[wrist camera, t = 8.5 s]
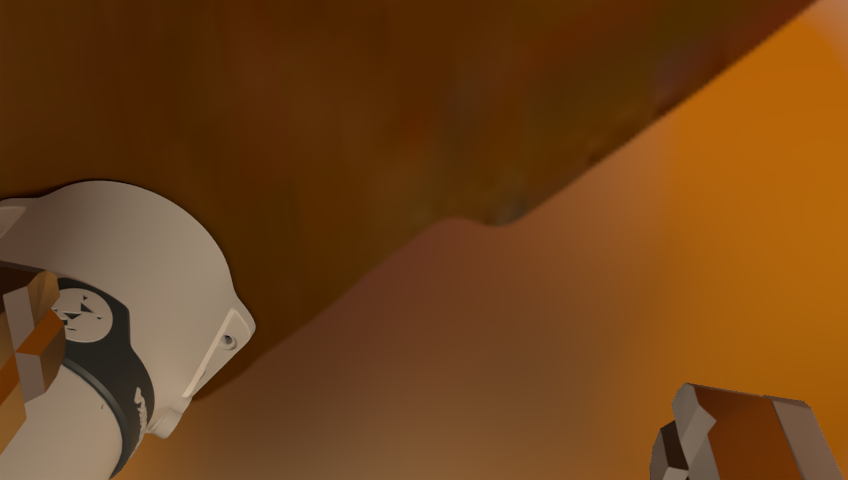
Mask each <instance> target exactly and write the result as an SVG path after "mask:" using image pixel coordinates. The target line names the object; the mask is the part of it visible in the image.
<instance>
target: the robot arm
mask: <svg viewBox="0 0 848 480" xmlns="http://www.w3.org/2000/svg"><path fill="white" fill-rule="evenodd" d="M254 331H255V322H254V320H253V318H252V316H251V315H250V313H249V312H248V310H247V309H246V308H245V306H244V305H243V304H242V302H241V301H240V300H239V299H238V297H237V296H236V293H235V291H234V288H233V284H232V280H231V276H230V272H229V269H228V266H227V263H226V261H225V258H224V256H223V254H222V252H221V251H220V249H219V247H218V245H217V244H216V242H215V241H214V240H213V238H212V237H211V236H210V234H209V233H208V232H207V231H206V230H205V229H204V228H203V226H202V225H201V224H200V223H199V222H198V221H196V220H195V219H194V218H193V217H192V216H191V215H190V214H188V213H187V212H186V211H184V210H183V209H182V208H180V207H179V206H177V205H176V204H174V203H172V202H171V201H169V200H167V199H165V198H164V197H162V196H160V195H158V194H155V193H153V192H151V191H148V190H146V189H143V188H140V187H136V186H133V185H129V184H124V183H119V182H111V181H88V182H81V183H76V184H72V185H69V186H66V187H63V188H61V189H59V190H57V191H55V192H52V193H50V194H48V195H46V196H43V197H40V198H11V199H5V200H2V201H0V480H109V479H111V478H113V477H114V476H115V475H116V474H117V473H118V472H119V471H121V469H122V468H123V466H124V465H125V464H126V462H127V461H128V459H129V458H131V456H132V455H133V453H134V452H135V451H136V449H137V447H138V446H139V444H140V442H141V441H142V438H143V436H144V433H154V434H155V435H157V436H159V437H161V438H167V437H168V436H169V435H170V434H171V432H172V431H173V430H174V428H175V427H176V425H177V424H178V422H179V420H180V418H181V416H182V414H183V412H184V410H185V409H186V407H187V406H188V405H189V403H190V401H191V399H192V396H193V395H194V394H195V393H196V392H197V391H198V390H199V389H200V388H201V387H202V386H203V385H204V384H205V383H206V382H207V381H208V380H209V379H210V378H211V377H212V376H213V375H214V374H215V373H217V372H218V371H219V370H220V369H221V368H222V367H223V366H224V365H225V364H226V363H227V362H228V361H229V360H230V359H231V358H232V357H233V356H234V355H235V354H236V353H237V352H238V351H239V350H240V349H241V348H242V347H243V346H244V345H245V344H246V343H247V342H248V341H249V339H250V338H251V336H252V335H253V333H254ZM225 335H228V336H230V337H231V338H228V337H226V336H225ZM672 409H673V413H674V417H675V420H674V421H672V422H671V423H669V424H667V425H665V426H664V427H662V428H661V429H660V431H659V433H658V436H657V438H656V441H655V444H654V446H653V451H652V456H651V462H650V480H844V478H843V476H842V474H841V472H840V470H839V468H838V465H837V463H836V461H835V459H834V457H833V455H832V452H831V450H830V448H829V446H828V444H827V442H826V439H825V437H824V435H823V433H822V431H821V429H820V426H819V424H818V422H817V420H816V417H815V415H814V413H813V411H812V409H811V407H810V406H808V405H807V404H806V403H805V402H804V401H799V400H793V399H787V398H780V397H774V396H767V395H763V396H760V395H756V394H750V393H744V392H738V391H732V390H727V389H721V388H715V387H709V386H703V385H697V384H691V383H684V384H683V385H682V386H681V388H680V389H679V390H678V391H677V394H676V396H675V398H674V400H673V402H672Z"/></svg>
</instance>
